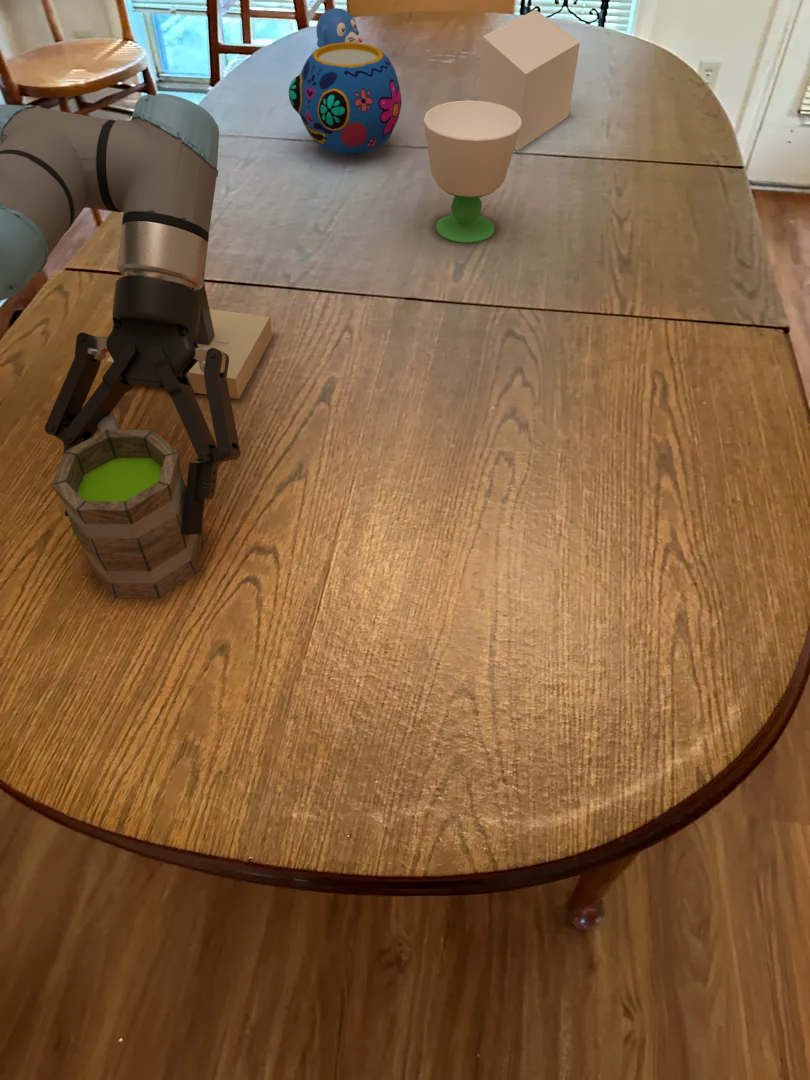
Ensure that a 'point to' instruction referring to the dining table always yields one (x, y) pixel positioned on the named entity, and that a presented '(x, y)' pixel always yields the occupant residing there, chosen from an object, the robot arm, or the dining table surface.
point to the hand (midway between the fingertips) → (133, 525)
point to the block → (529, 72)
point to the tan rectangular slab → (233, 348)
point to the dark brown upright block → (205, 320)
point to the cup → (469, 160)
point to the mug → (129, 510)
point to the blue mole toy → (337, 28)
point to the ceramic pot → (347, 97)
